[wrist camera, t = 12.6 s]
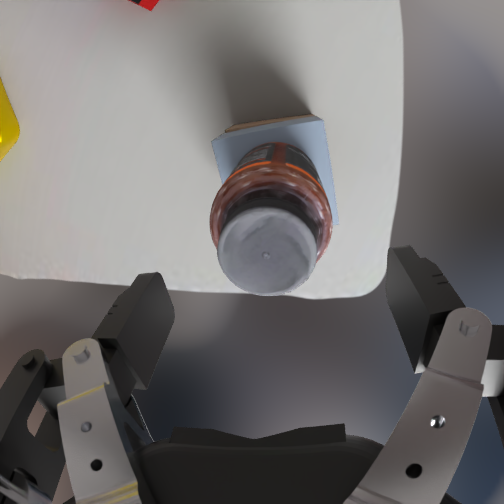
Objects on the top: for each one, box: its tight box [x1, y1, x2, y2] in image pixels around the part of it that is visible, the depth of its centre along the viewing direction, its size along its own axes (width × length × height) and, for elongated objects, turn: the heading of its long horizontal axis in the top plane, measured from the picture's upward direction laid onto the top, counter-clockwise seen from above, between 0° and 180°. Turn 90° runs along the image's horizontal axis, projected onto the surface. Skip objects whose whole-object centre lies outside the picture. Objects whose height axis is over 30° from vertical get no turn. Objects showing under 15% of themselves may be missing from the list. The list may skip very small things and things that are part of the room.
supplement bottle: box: [210, 142, 333, 296], centre depth 17 cm, size 6×6×11 cm
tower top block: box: [211, 116, 339, 225], centre depth 24 cm, size 8×8×5 cm
